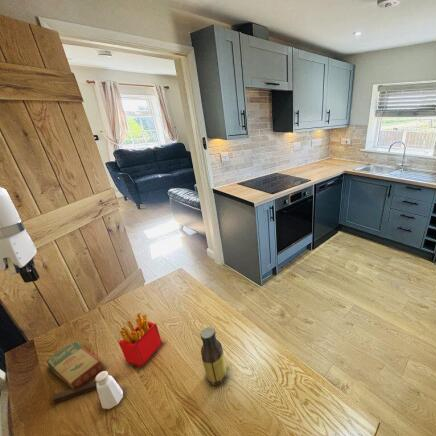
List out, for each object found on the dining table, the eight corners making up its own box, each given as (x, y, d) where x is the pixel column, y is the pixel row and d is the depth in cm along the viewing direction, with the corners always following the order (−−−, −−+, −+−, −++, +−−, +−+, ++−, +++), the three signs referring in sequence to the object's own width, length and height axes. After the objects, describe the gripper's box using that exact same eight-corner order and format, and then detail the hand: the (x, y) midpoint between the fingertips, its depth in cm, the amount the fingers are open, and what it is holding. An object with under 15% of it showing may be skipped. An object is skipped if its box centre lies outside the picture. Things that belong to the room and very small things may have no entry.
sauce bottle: (227, 364, 80) (221, 321, 72) (226, 383, 74) (219, 339, 66) (207, 368, 78) (198, 324, 70) (205, 388, 73) (195, 343, 65)
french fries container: (125, 362, 80) (113, 332, 74) (147, 339, 88) (138, 311, 82) (142, 368, 78) (131, 338, 72) (163, 344, 86) (154, 315, 81)
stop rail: (54, 403, 68) (52, 399, 68) (57, 398, 70) (54, 394, 69) (112, 383, 74) (111, 380, 73) (113, 379, 75) (112, 375, 74)
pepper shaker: (107, 414, 66) (94, 389, 62) (97, 403, 69) (84, 379, 64) (127, 395, 71) (117, 371, 66) (117, 386, 73) (107, 362, 68)
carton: (74, 392, 71) (69, 384, 69) (49, 368, 78) (43, 359, 76) (104, 368, 78) (100, 359, 76) (79, 347, 84) (74, 339, 83)
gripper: (3, 221, 74) (29, 269, 81) (-32, 244, 61) (2, 298, 69) (35, 218, 77) (57, 265, 84) (7, 238, 64) (36, 291, 72)
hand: (32, 280), depth 76 cm, fingers closed
